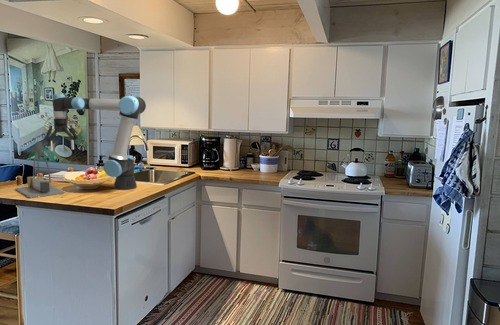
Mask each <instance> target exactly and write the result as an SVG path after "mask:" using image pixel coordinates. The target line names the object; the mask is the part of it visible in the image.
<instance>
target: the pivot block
mask: <svg viewBox="0 0 500 325" xmlns="http://www.w3.org/2000/svg"><path fill="white" fill-rule="evenodd" d="M32 178H41V179H42V176H40V175H39V176H38V175H34V176H33V175H32V176H27V177H26V180H27V187H28V188H33V184H32Z"/></svg>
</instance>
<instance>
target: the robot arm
mask: <svg viewBox="0 0 500 325" xmlns="http://www.w3.org/2000/svg"><path fill="white" fill-rule="evenodd" d="M51 102H52V108H53V110H52V111H53V124H54V125H49V126H48V130H47V132H46V135H45V137H44V140H45V141H47V146H49V151H50V152H53V150H54V149H53V140H52V139H53V138H55V136H56V135H57V133H65V134H66V135H67V136H68V137H69V138H70V147H71V148H70V149H71V150H75V144H76V139H78V136H77V133H76V132H75V130H74V129H73V125H71V124H70V125H68V123H67V122H68V120H67V110H87V111H88V110H90V111H91V110H94V111H95V110H97V111H119V113H118V115H119V116H120V121H119V123H118V128H117V133H116V136H115V140H114V145H113V149H112V152H111V153H110V154H109V155H108V158H107V160H106V161H105V162H104V163H103V171H104V173H105V175H107V176H108V177H110V178H115V181H114V183H113V188H114V189H116V190H120V191H121V190H124V191H126V190H133V189H136V188H137V187H138V185H137V182H136V179H135V178H136V177H135V158H134V156H133V155H130V154H128V155H127V153H128V149H129V145H130V141H131V136H132V132H133V130H134V129H133V128H134V126H135V121H137V120H138V119H139V116H140V115H141V114H143V113H144V112H145V111H146V108H147V104H146V101H145V99H143V98H142V97H141V96H140V97H139V96H134V95H125V96H123V97H121V98H120V99H119V98H118V99H117V98H116V99H115V98H88V97H87V98H84V97H78V96H77V97H67V96H66V95H65V94H62V93H61V94H60V93H59V94H56V93H54V94H52V100H51ZM53 129H54V130H53ZM68 129H69V130H68Z"/></svg>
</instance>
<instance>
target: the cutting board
mask: <svg viewBox="0 0 500 325" xmlns="http://www.w3.org/2000/svg"><path fill="white" fill-rule="evenodd" d="M49 189H50V192H41V191H39V190H37V189H35V188H28V186H22V187H16V188H15V191H17V192H18V191H19V192H18V193H20V192H21V193H20V194H22V193H23V194H25V195H26V196H25V195H24V196H25V197H27V196H28V197H30V198H29V199H32V198H31V197H37V198H39V197H38V196H44V197H48V196H47V195H52V196H57V195H56V194H59V195H65V194H66V191H64V190H62V189H60V188H58V187H56V186H53V185H52V184H49ZM64 193H65V194H64ZM23 194H22V195H23ZM28 197H27V198H28Z"/></svg>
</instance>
